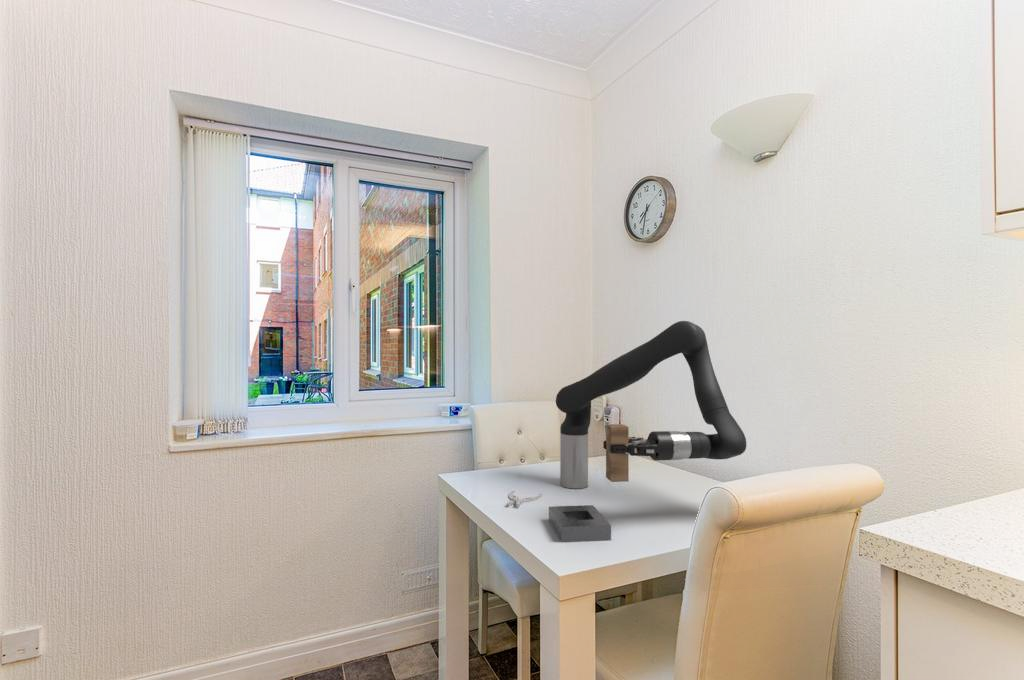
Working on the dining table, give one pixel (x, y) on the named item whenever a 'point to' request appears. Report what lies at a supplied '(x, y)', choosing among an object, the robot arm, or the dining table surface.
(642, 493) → the dining table surface
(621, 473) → the walnut peg
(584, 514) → the socket block
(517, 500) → the pliers
